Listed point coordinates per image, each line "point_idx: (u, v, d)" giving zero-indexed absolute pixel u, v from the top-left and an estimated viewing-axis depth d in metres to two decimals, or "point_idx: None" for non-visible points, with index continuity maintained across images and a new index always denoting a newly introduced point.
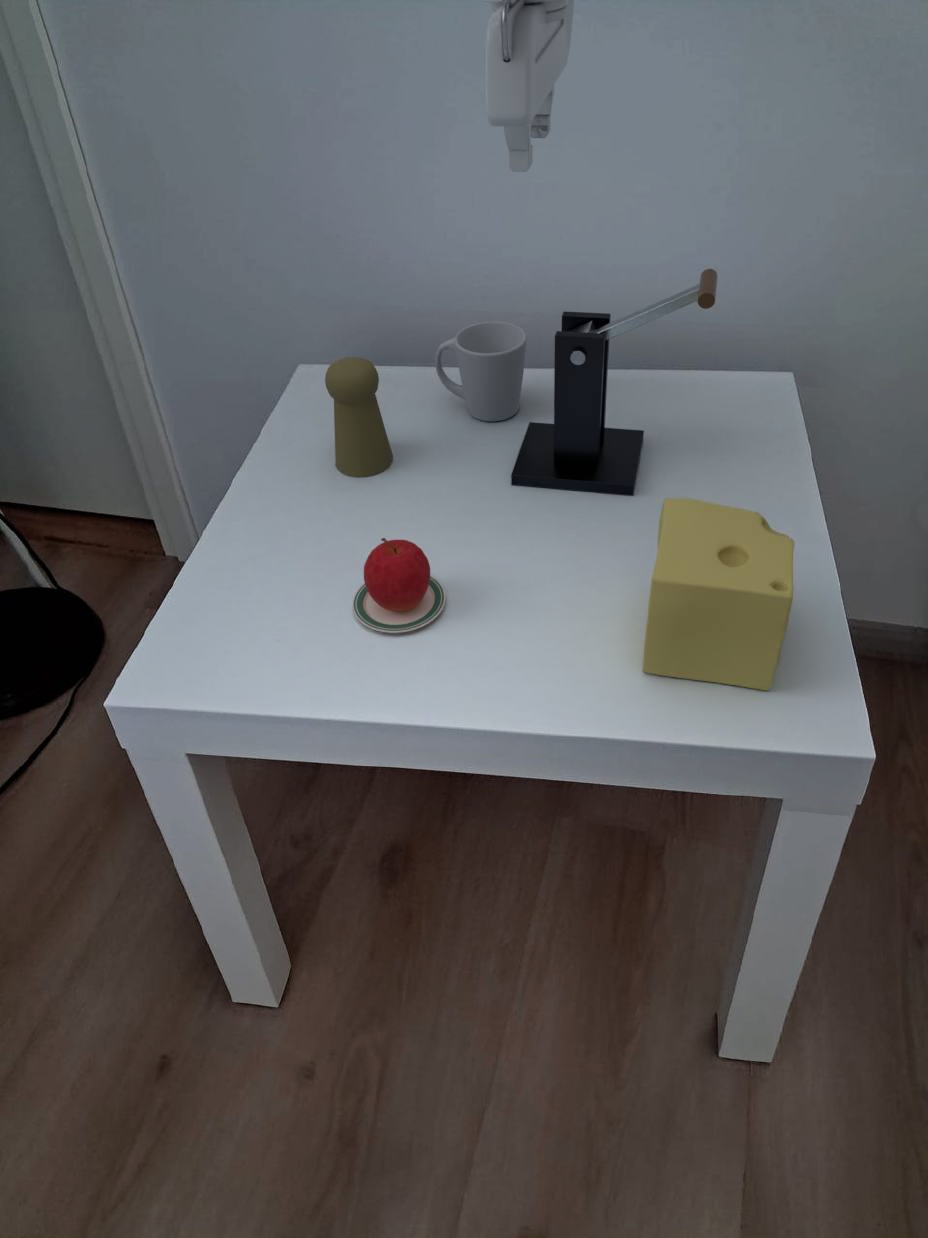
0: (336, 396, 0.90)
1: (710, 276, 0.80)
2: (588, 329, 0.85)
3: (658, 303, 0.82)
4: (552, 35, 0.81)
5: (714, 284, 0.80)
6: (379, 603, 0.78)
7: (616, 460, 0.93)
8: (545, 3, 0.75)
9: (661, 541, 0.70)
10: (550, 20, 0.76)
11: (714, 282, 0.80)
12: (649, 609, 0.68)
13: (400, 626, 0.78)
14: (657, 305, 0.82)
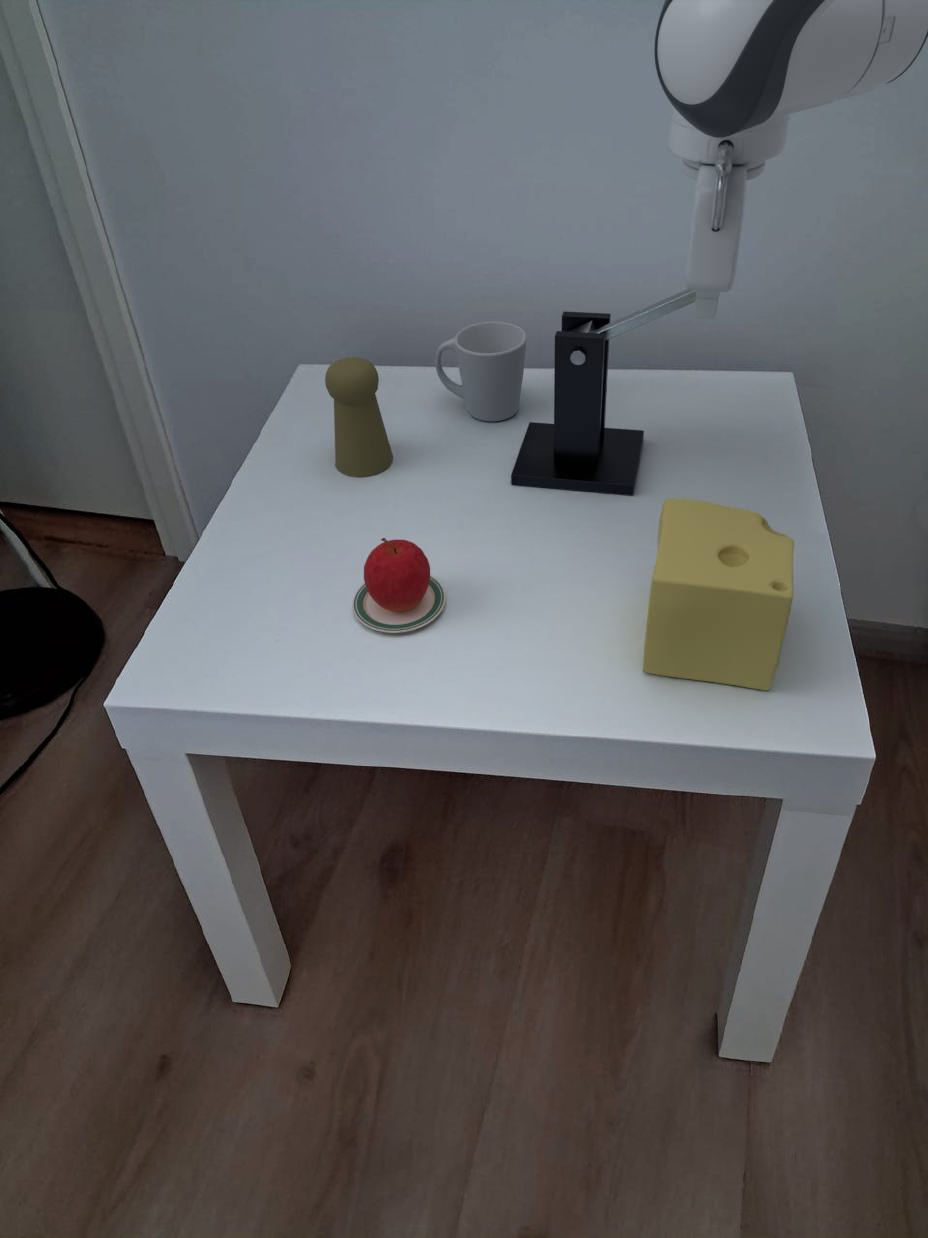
0: (336, 396, 0.90)
1: None
2: (588, 329, 0.85)
3: (658, 303, 0.82)
4: None
5: None
6: (379, 603, 0.78)
7: (616, 460, 0.93)
8: None
9: (661, 541, 0.70)
10: (750, 178, 0.72)
11: None
12: (649, 609, 0.68)
13: (400, 626, 0.78)
14: (657, 305, 0.82)
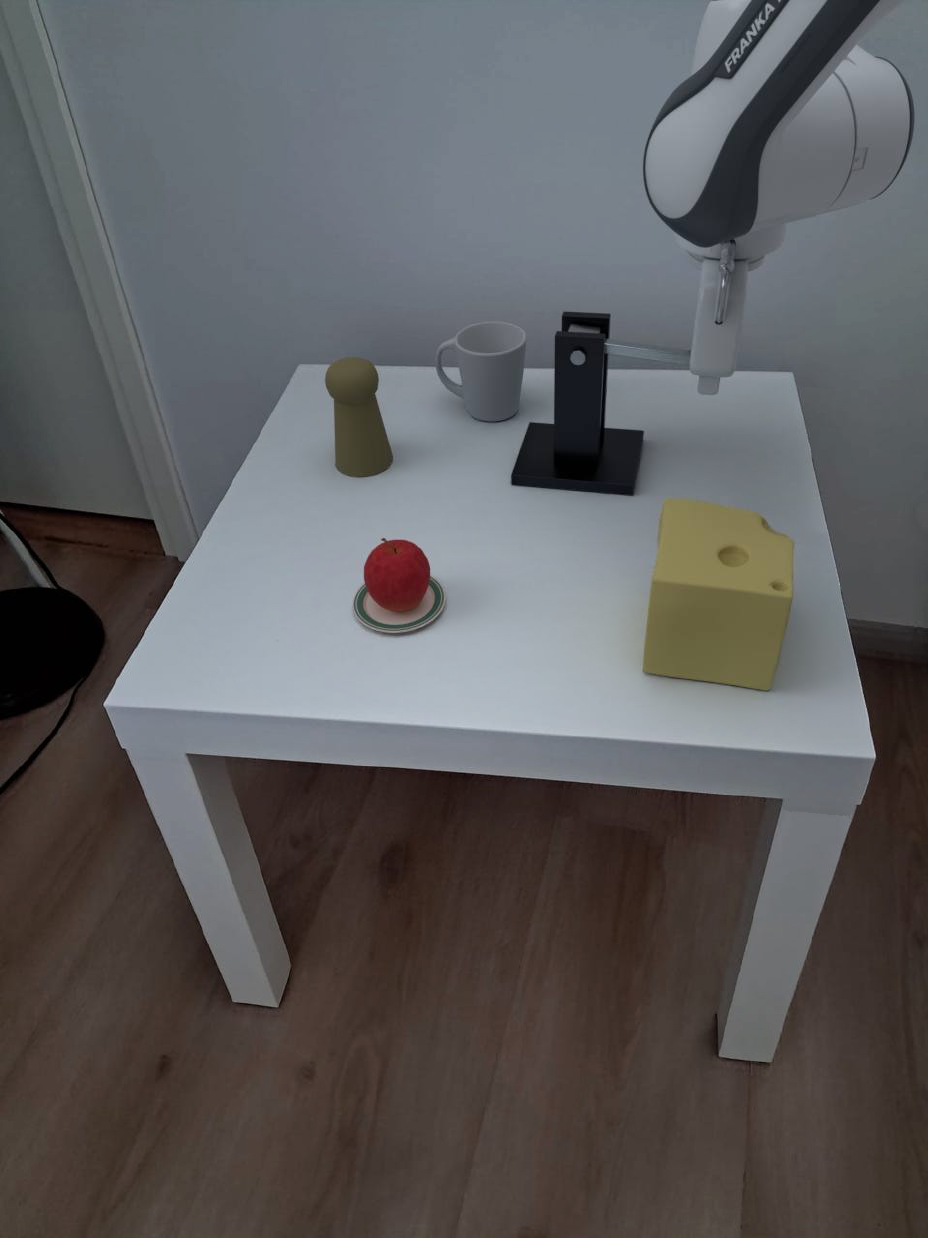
0: (336, 396, 0.90)
1: None
2: None
3: (667, 349, 0.85)
4: None
5: None
6: (379, 603, 0.78)
7: (616, 460, 0.93)
8: None
9: (661, 541, 0.70)
10: (751, 269, 0.76)
11: None
12: (649, 609, 0.68)
13: (400, 626, 0.78)
14: (666, 351, 0.85)
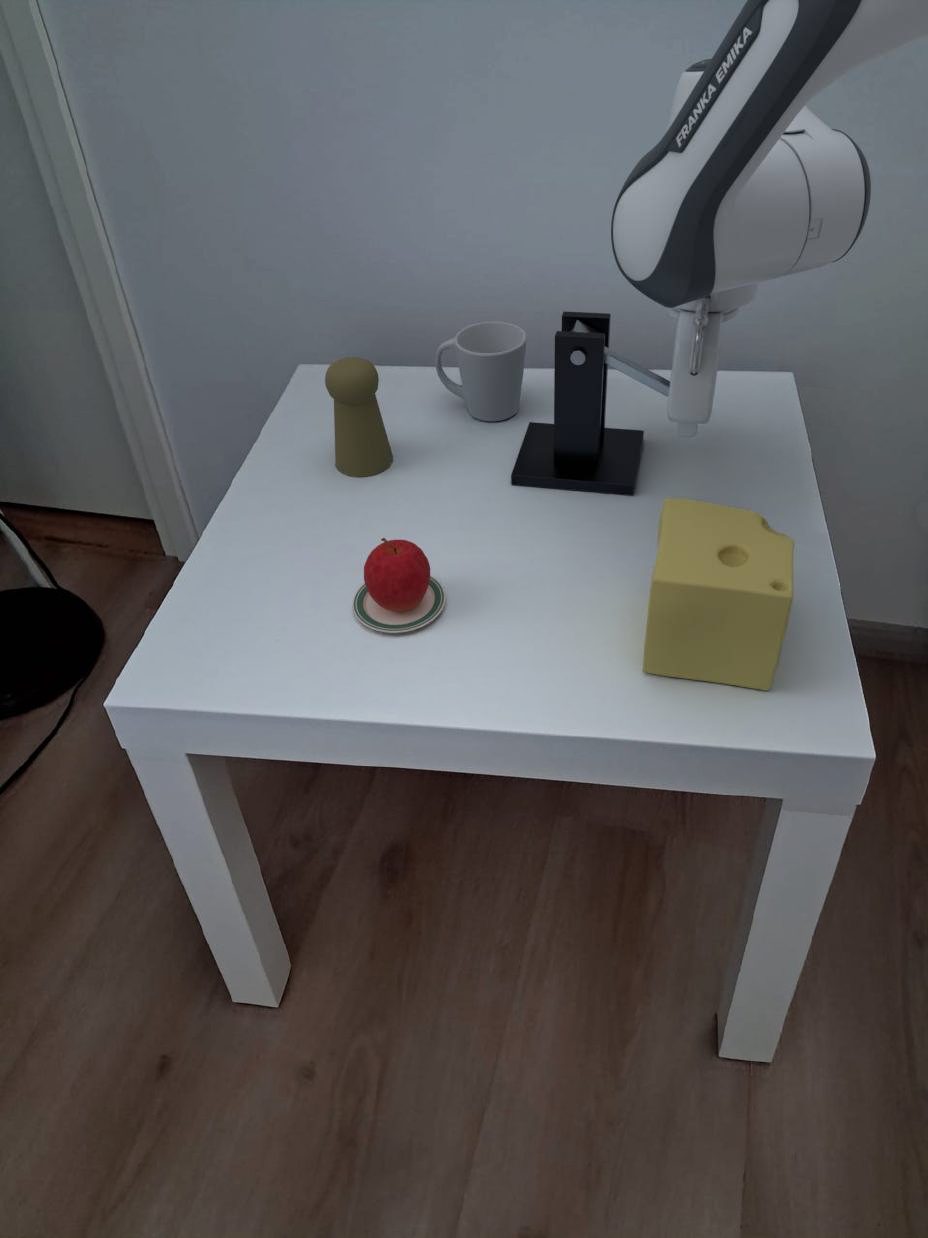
0: (336, 396, 0.90)
1: None
2: None
3: (658, 377, 0.87)
4: None
5: None
6: (379, 603, 0.78)
7: (616, 460, 0.93)
8: None
9: (661, 541, 0.70)
10: (726, 320, 0.79)
11: None
12: (649, 609, 0.68)
13: (400, 626, 0.78)
14: (657, 378, 0.87)
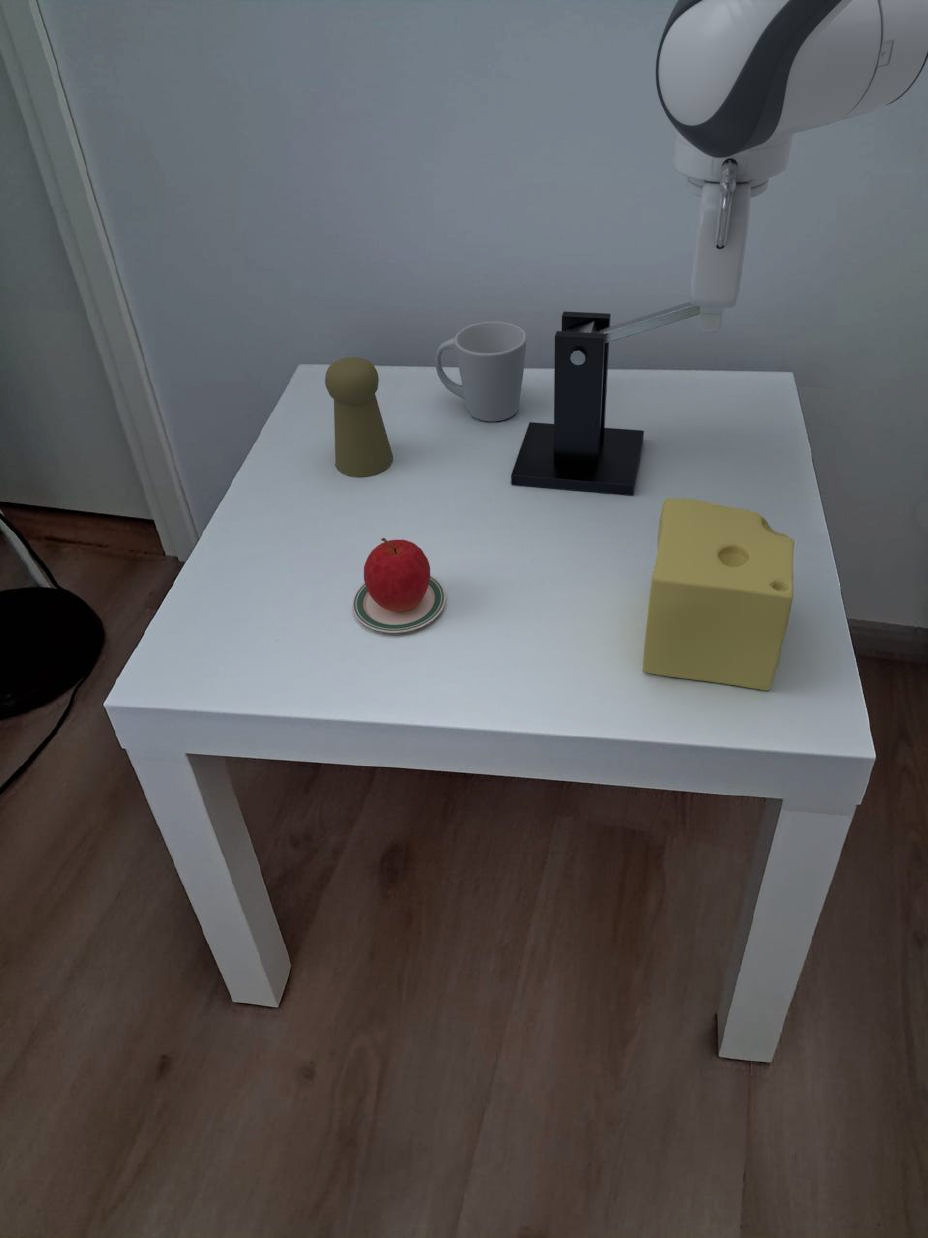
0: (336, 396, 0.90)
1: None
2: (590, 330, 0.85)
3: (662, 312, 0.83)
4: None
5: None
6: (379, 603, 0.78)
7: (616, 460, 0.93)
8: None
9: (661, 541, 0.70)
10: (754, 195, 0.72)
11: None
12: (649, 609, 0.68)
13: (400, 626, 0.78)
14: (661, 314, 0.82)
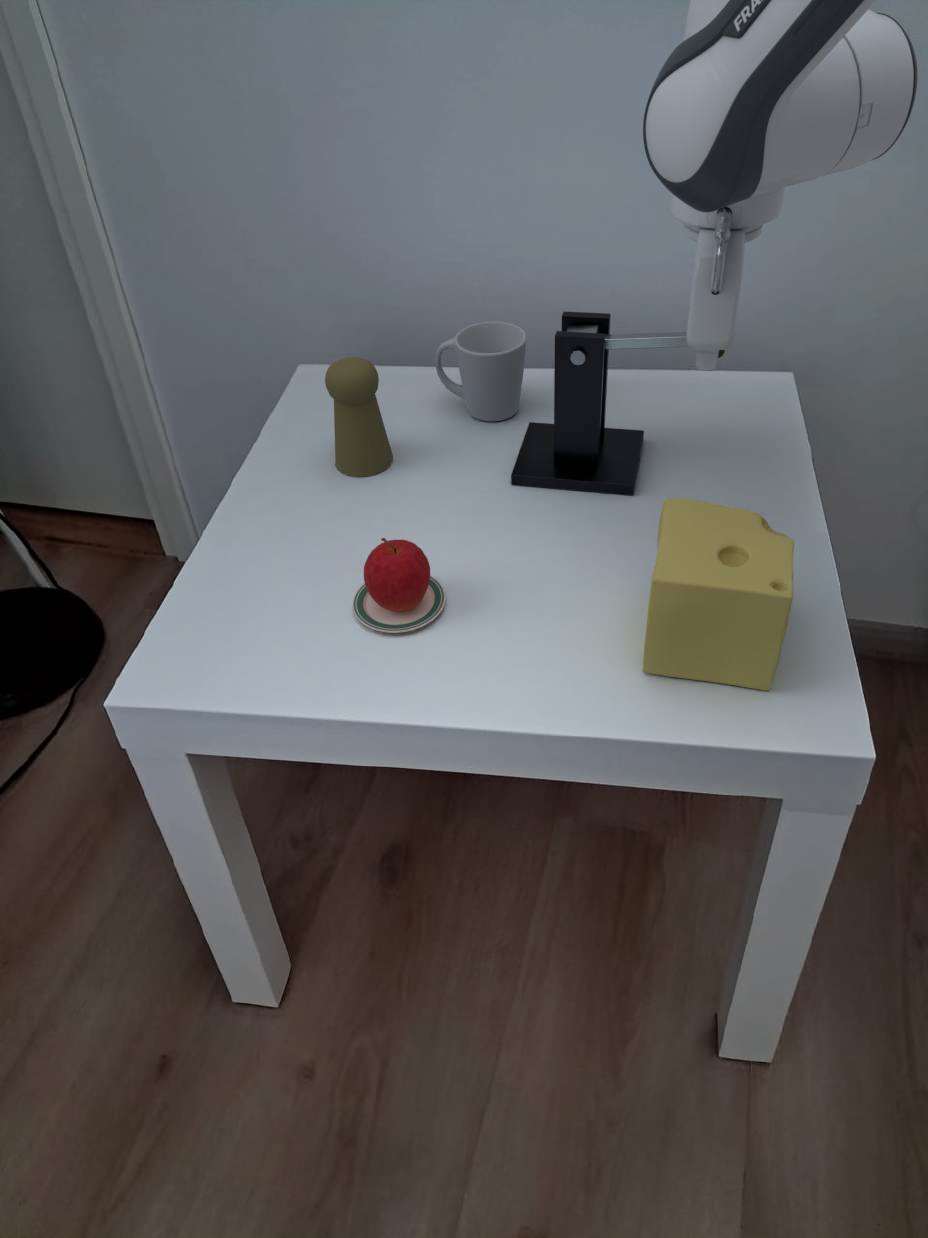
0: (336, 396, 0.90)
1: None
2: None
3: (667, 334, 0.84)
4: None
5: None
6: (379, 603, 0.78)
7: (616, 460, 0.93)
8: None
9: (661, 541, 0.70)
10: (748, 240, 0.75)
11: None
12: (649, 609, 0.68)
13: (400, 626, 0.78)
14: (666, 336, 0.84)
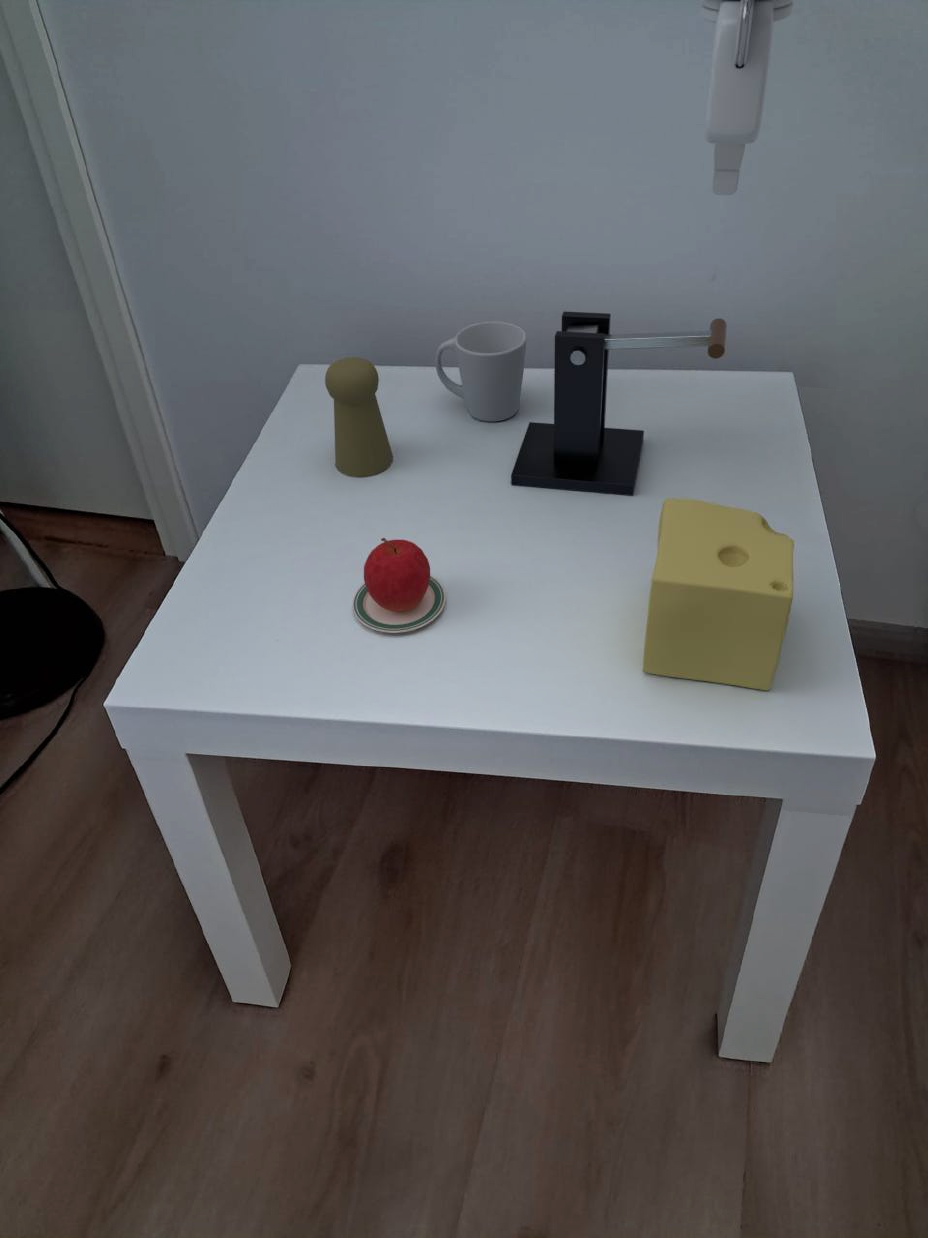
0: (336, 396, 0.90)
1: (722, 327, 0.83)
2: None
3: (667, 334, 0.84)
4: None
5: (725, 337, 0.82)
6: (379, 603, 0.78)
7: (616, 460, 0.93)
8: None
9: (661, 541, 0.70)
10: (776, 18, 0.64)
11: (725, 335, 0.83)
12: (649, 609, 0.68)
13: (400, 626, 0.78)
14: (666, 336, 0.84)
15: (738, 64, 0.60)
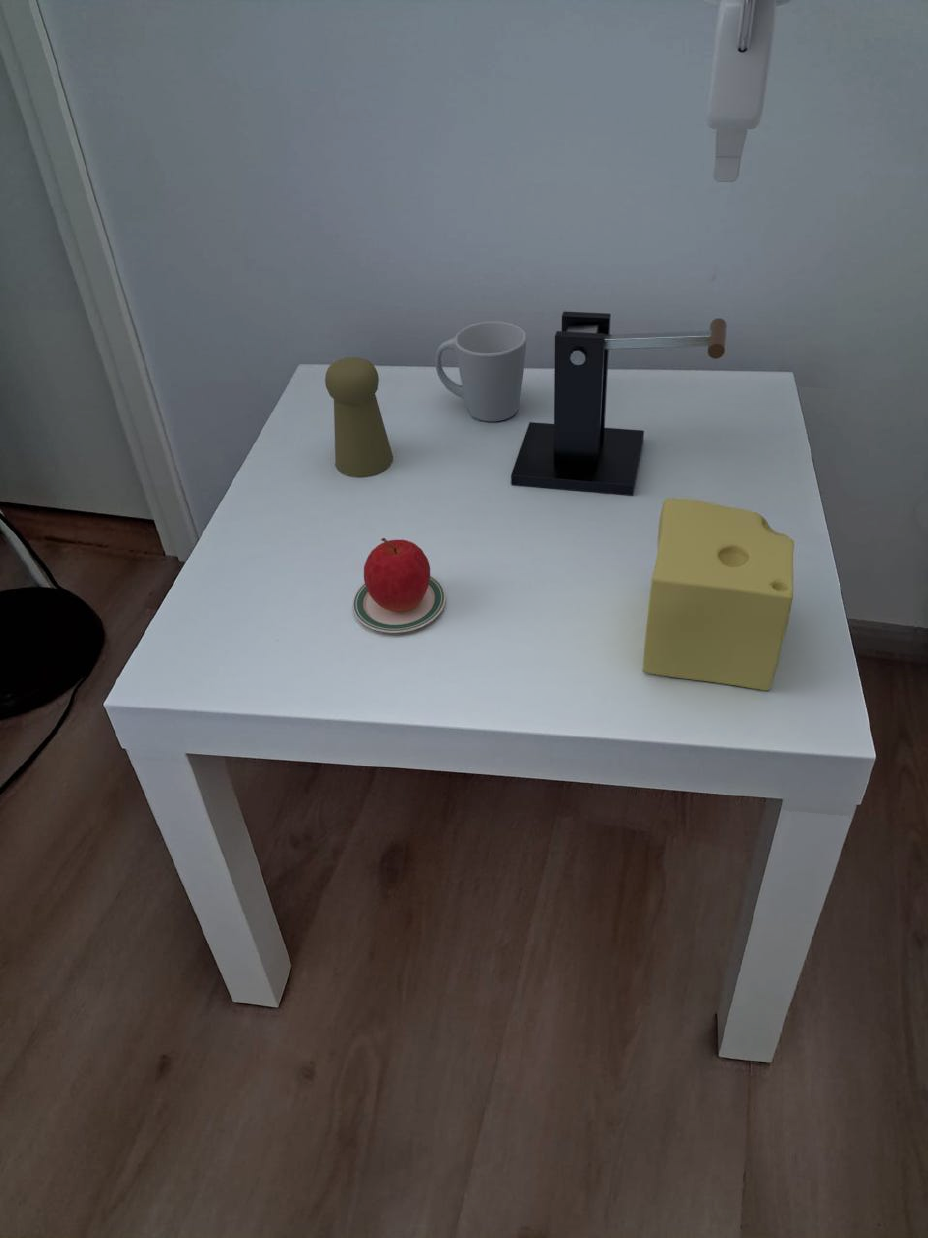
0: (336, 396, 0.90)
1: (722, 327, 0.83)
2: None
3: (667, 334, 0.84)
4: None
5: (725, 337, 0.82)
6: (379, 603, 0.78)
7: (616, 460, 0.93)
8: None
9: (661, 541, 0.70)
10: (779, 3, 0.64)
11: (725, 335, 0.83)
12: (649, 609, 0.68)
13: (400, 626, 0.78)
14: (666, 336, 0.84)
15: (741, 48, 0.60)
